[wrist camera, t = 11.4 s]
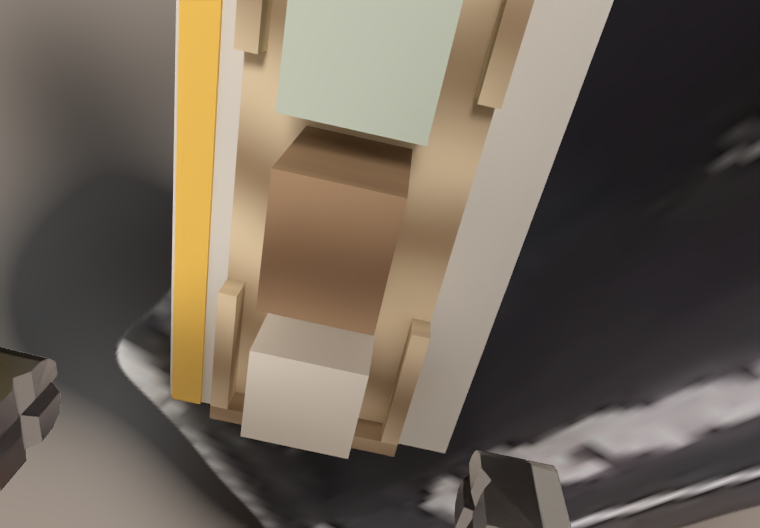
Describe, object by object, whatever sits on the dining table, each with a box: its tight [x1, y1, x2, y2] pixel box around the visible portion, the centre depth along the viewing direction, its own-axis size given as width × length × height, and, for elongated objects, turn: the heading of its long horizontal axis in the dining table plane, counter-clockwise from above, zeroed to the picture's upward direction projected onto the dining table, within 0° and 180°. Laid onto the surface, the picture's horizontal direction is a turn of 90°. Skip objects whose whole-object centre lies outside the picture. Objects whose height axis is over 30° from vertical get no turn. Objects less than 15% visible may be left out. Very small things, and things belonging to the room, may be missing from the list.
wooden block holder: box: [210, 0, 534, 457], centre depth 20 cm, size 24×9×8 cm, turn 168°
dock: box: [170, 0, 614, 453], centre depth 25 cm, size 30×16×4 cm, turn 168°
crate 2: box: [241, 313, 377, 459], centre depth 22 cm, size 4×4×4 cm
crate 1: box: [276, 0, 463, 146], centre depth 16 cm, size 4×4×4 cm
